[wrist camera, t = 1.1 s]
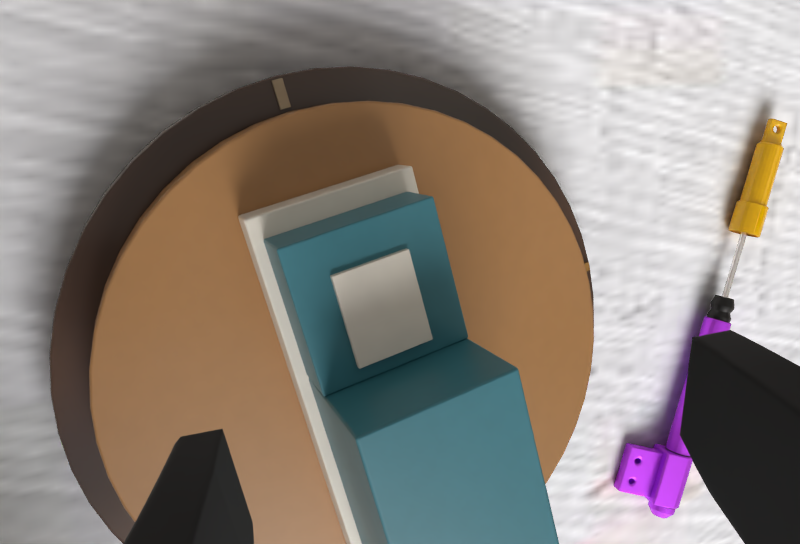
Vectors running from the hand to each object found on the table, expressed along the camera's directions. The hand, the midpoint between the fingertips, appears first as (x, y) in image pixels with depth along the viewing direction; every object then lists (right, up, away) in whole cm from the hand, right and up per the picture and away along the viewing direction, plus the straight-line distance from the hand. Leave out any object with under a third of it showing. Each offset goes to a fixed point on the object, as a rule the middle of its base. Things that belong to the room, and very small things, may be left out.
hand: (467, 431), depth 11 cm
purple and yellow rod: (+10, +1, +18) cm, 20 cm away
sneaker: (-2, 0, +11) cm, 11 cm away
